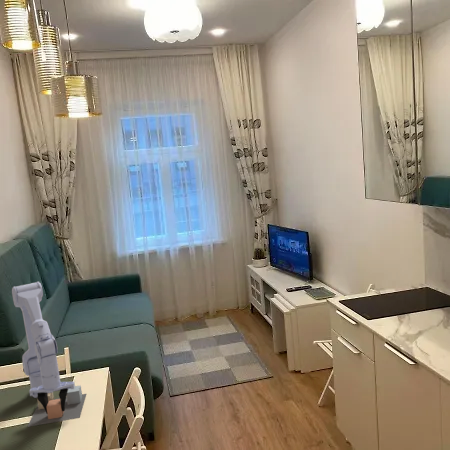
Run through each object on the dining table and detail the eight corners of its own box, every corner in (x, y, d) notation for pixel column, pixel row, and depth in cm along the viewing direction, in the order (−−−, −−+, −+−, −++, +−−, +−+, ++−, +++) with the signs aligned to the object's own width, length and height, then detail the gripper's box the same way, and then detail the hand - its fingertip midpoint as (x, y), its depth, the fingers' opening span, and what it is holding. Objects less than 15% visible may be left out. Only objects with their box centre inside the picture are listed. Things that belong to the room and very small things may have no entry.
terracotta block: (51, 412, 167) (49, 400, 167) (64, 410, 168) (62, 398, 167) (48, 419, 163) (46, 406, 162) (62, 416, 163) (60, 404, 163)
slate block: (69, 399, 176) (68, 387, 176) (82, 396, 177) (80, 385, 176) (67, 404, 172) (66, 392, 171) (80, 402, 173) (78, 390, 172)
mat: (39, 402, 177) (39, 401, 177) (86, 394, 179) (86, 393, 179) (27, 428, 159) (27, 426, 159) (79, 419, 162) (79, 417, 162)
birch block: (41, 403, 175) (39, 392, 174) (54, 401, 176) (52, 389, 175) (38, 409, 170) (36, 397, 170) (51, 407, 171) (50, 395, 171)
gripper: (24, 382, 159) (31, 420, 160) (70, 375, 161) (75, 413, 162) (30, 373, 166) (36, 410, 167) (73, 366, 168) (78, 403, 169)
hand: (55, 411), depth 165 cm, fingers closed on terracotta block, 4 cm apart
